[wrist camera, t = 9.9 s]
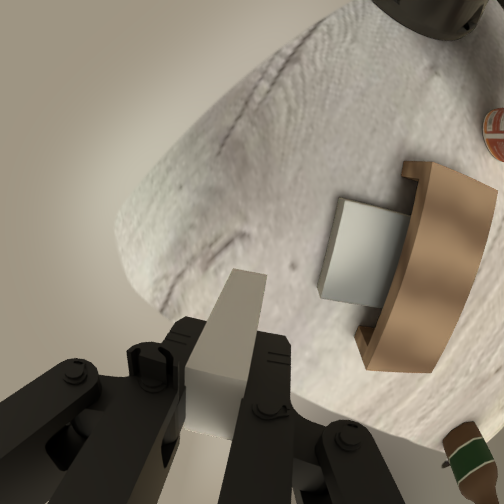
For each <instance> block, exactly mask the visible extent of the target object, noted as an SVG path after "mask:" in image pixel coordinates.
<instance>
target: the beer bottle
mask: <svg viewBox="0 0 504 504" xmlns="http://www.w3.org/2000/svg"><path fill="white" fill-rule="evenodd" d="M443 446H444V450H445V453H446V455H447V458H448V460H449V463H450V466H451V468H452V471H453V473H454V476H455V479H456V481H457V484H458V487H459V489H460V491H461V494H462V495H463V496H464V497H465V498H466V499H468V500H471V501H473V502H474V503H475V504H499V502H498V498H497V495H496V489H495V486H496V481H497V477H498V473H497V466H496V463H495V461H494V458H493V456H492V454H491V452H490V450H489V449H488V446H487V444H486V442H485V440H484V438H483V436H482V435H481V433H480V431H479V429H478V427H477V426H476V424H475V423H474V422H466V423H463V424H461V425H460V426H458V427H456V428H455V429H453V430H452V431H451V432H450V433H449V434H448V435H447V436H446V437H445V438H444V439H443Z"/></svg>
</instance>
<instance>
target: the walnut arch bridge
mask: <svg viewBox="0 0 504 504" xmlns="http://www.w3.org/2000/svg"><path fill="white" fill-rule="evenodd" d="M401 176H402V177H405V178H408V179H411V180H414V181H417V182H419V183H418V187H417V190H416V195H415V202H414V206H413V211H412V215H411V219H410V223H409V227H408V231H407V235H406V238H405V242H404V245H403V249H402V252H401V256H400V259H399V262H398V266H397V269H396V272H395V275H394V278H393V281H392V284H391V287H390V290H389V293H388V296H387V298H386V301H385V304H384V307H383V309H382V312H381V315H380V316H379V318H378V321H377V323H376V324H377V325H376V327H375V328H372V327H364V326H358V329H357V331H356V334H355V336H354V338H355V341H356V343H357V346H358V349H359V352H360V354H361V357H362V360H363V363H364V366H365V369H366V370H370V371H385V372H405V373H432V371H433V369H434V367H435V366H436V364H437V362H438V360H439V358H440V356H441V355H442V353H443V351H444V349H445V347H446V345H447V343H448V341H449V339H450V337H451V335H452V333H453V330H454V328H455V326H456V324H457V322H458V320H459V317H460V315H461V313H462V310H463V308H464V306H465V303H466V301H467V298H468V296H469V293H470V290H471V288H472V285H473V282H474V280H475V277H476V274H477V271H478V268H479V265H480V262H481V259H482V255H483V252H484V249H485V245H486V242H487V238H488V234H489V231H490V227H491V222H492V218H493V214H494V209H495V204H496V199H497V194H498V190H496V189H494V188H492V187H490V186H487V185H485V184H483V183H481V182H479V181H477V180H475V179H473V178H470V177H468V176H466V175H464V174H461V173H459V172H457V171H454V170H452V169H449V168H447V167H445V166H442V165H440V164H437V163H434V162H422V161H404V163H403V168H402V174H401Z"/></svg>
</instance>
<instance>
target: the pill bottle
mask: <svg viewBox="0 0 504 504" xmlns="http://www.w3.org/2000/svg"><path fill="white" fill-rule="evenodd" d="M483 137H484V140H485V143H486V146H487V148H488V150H489V151H490V153H491V154H492V155H493V156H494V157H495V158H496V159H498V160H499V161H502V162H504V108H498V109H494V110H491V111H490V112H489V113H488V114H487V115H486V117H485V119H484V122H483Z"/></svg>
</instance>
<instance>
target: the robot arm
mask: <svg viewBox="0 0 504 504" xmlns="http://www.w3.org/2000/svg"><path fill="white" fill-rule="evenodd" d="M373 1H374V2H375V3H376V4H377V5H378V6H379V7H380V8H381V9H382V10H383V11H385V12H386V13H387V14H388V15H390V16H391V17H392V18H394V19H395V20H397V21H398V22H400V23H401V24H403V25H404V26H406V27H408V28H410V29H412V30H413V31H415V32H418V33H420V34H422V35H425V36H427V37H430V38H434V39H438V40H445V41H451V40H457V39H459V38H461V37H463V36H465V35H466V34H468V33H470V32H471V31H472V30H473V29H474V28H475V27H476V25H477V23H478V21H479V19H480V17H481V15H482V13H483V11H484V9H485V7H486V5H487V3H488V1H489V0H373ZM497 1H498V3H499V4H500V5H501V7H502V8H503V10H504V0H497ZM266 279H267V275H265V274H260V273H254V272H249V271H244V270H239V269H234V268H233V270H232V272H231V274H230V276H229V278H228V280H227V282H226V284H225V286H224V288H223V290H222V292H221V294H220V296H219V298H218V300H217V302H216V304H215V306H214V308H213V310H212V312H211V314H210V316H209V318H208V321H204V320H199V319H195V318H191V317H187V316H185V317H184V318H182V319H180V320H179V321H177V322H175V324H174V325H173V327H172V328H171V330H170V332H169V333H168V334H167V336H166V337H165V340H163V342H162V343H156V342H143V343H139V344H136V345H134V346H132V347H131V348H129V349H128V350H127V360H128V367H129V376H128V377H113V376H104V375H99V374H98V371H97V368H96V367H95V366H94V365H93V364H92V363H91V362H89V361H87V360H85V359H78V358H74V359H67V360H65V361H63V362H61V363H59V364H57V365H56V366H54V367H53V368H51V369H50V370H49V371H47V372H45V373H44V374H42V375H41V376H40V377H38V378H36V379H35V380H33V381H32V382H30V383H29V384H27V385H26V386H24V387H23V388H21V389H20V390H18V391H17V392H15V393H14V394H12V395H11V396H9V397H8V398H6V399H5V400H4V401H2V402H0V504H45V503H46V502H47V501H49V502H48V504H157V502H158V499H159V496H160V494H161V491H162V488H163V486H164V483H165V480H166V478H167V475H168V473H169V470H170V467H171V465H172V462H173V459H174V456H175V454H176V451H177V449H178V446H179V441H180V431H181V429H182V426H183V424H184V429H186V430H190V431H193V432H197V433H201V434H205V435H209V436H213V437H218V438H223V439H227V440H232V444H231V448H230V453H229V457H228V462H227V466H226V470H225V474H224V479H223V483H222V487H221V491H220V495H219V500H218V504H291V493H292V487H293V491H294V494H295V498H296V503H297V504H405V502H404V500H403V498H402V496H401V494H400V491H399V490H398V487H397V485H396V483H395V481H394V479H393V477H392V475H391V473H390V471H389V469H388V467H387V465H386V463H385V461H384V459H383V457H382V455H381V453H380V451H379V449H378V447H377V445H376V443H375V441H374V439H373V437H372V435H371V433H370V432H369V431H368V429H367V428H366V427H364V426H363V425H361V424H360V423H358V422H354V421H351V420H338V421H335V422H331V423H330V424H329V425H328V426H327V427H325V426H323V425H320V424H317V423H314V422H311V421H309V420H307V419H305V418H303V417H302V416H301V415H299V414H298V413H297V412H296V411H295V409H294V408H293V407H292V404H291V400H290V381H291V366H290V365H291V345H290V343H289V341H288V340H287V338H286V336H283V335H278V334H272V333H266V332H261V331H257V328H258V323H259V317H260V312H261V307H262V301H263V296H264V290H265V285H266Z"/></svg>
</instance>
